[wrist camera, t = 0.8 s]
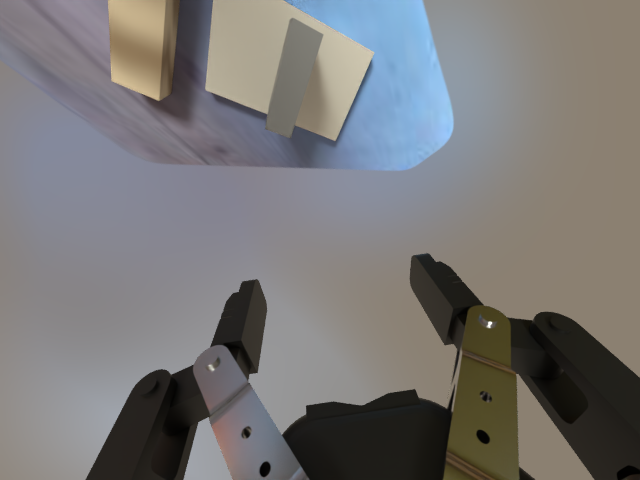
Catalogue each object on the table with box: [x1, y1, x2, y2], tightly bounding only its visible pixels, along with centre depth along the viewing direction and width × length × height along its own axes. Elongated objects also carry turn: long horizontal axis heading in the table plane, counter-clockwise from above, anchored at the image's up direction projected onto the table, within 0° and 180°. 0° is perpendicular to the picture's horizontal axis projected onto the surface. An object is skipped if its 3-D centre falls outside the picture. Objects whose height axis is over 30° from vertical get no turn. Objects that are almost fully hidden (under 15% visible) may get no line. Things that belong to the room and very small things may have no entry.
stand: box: [205, 0, 374, 141], centre depth 23 cm, size 16×10×10 cm, turn 68°
